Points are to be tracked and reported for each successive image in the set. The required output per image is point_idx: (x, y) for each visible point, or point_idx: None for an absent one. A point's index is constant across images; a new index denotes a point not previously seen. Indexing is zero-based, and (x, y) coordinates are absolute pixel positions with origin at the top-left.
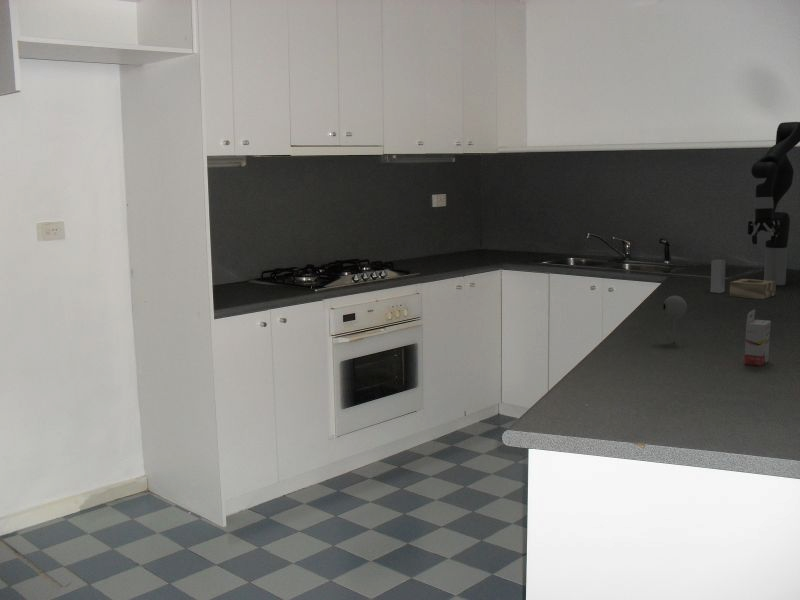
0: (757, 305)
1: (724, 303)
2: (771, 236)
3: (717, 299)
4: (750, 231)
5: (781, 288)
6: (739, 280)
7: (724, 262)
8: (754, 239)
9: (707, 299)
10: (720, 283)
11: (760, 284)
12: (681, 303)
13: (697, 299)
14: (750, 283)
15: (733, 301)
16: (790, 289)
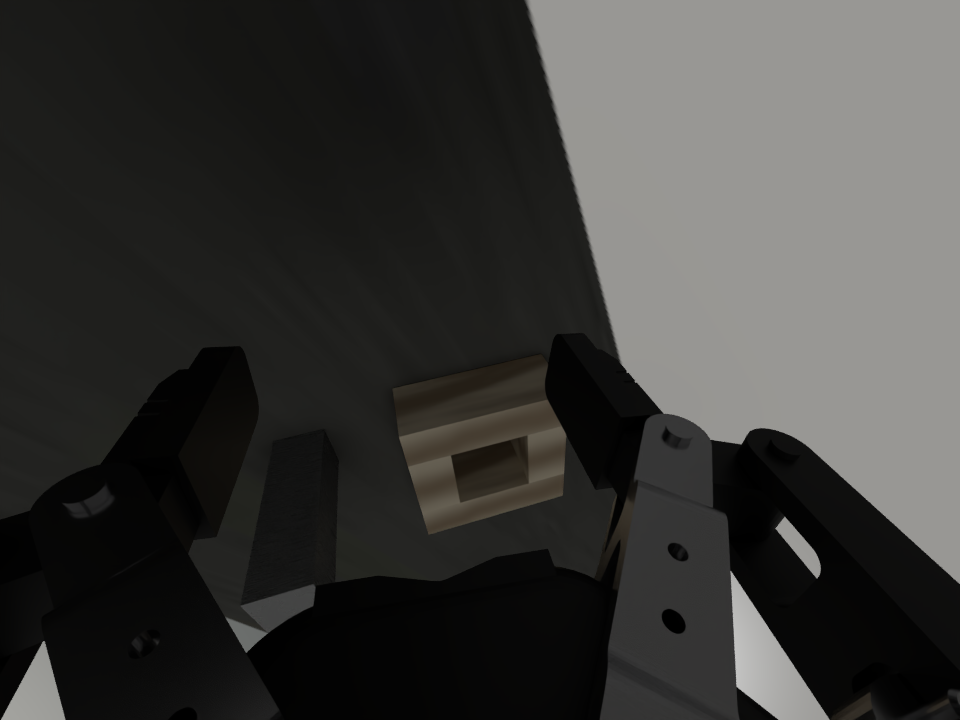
0: (569, 525)
1: (487, 559)
2: (600, 481)
3: (432, 540)
4: (8, 688)
5: (462, 75)
6: (426, 484)
7: (319, 577)
8: (236, 472)
9: (410, 557)
10: (336, 496)
11: (550, 498)
12: None
13: (389, 573)
14: (509, 506)
15: (489, 530)
16: (529, 87)
